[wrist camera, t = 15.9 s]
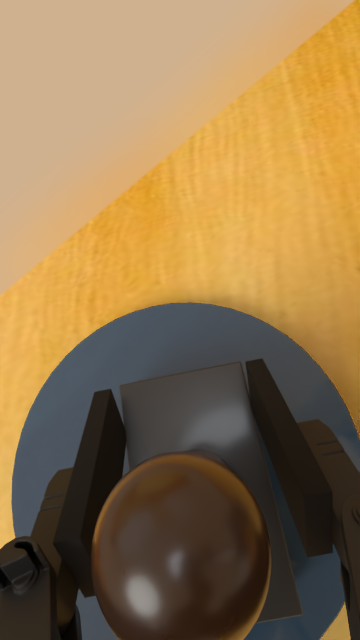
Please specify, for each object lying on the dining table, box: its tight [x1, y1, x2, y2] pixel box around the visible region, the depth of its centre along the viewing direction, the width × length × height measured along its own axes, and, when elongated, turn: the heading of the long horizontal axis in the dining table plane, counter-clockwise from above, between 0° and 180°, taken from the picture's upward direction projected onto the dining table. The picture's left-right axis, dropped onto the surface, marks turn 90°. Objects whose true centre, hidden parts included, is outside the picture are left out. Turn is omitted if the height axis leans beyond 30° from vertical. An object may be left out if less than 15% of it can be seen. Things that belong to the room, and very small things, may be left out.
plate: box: [12, 303, 360, 640], centre depth 18 cm, size 18×18×1 cm
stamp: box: [91, 361, 303, 640], centre depth 11 cm, size 10×6×13 cm, turn 10°
